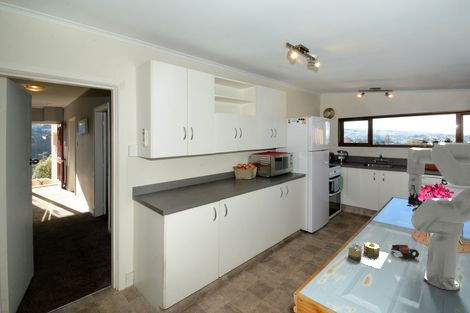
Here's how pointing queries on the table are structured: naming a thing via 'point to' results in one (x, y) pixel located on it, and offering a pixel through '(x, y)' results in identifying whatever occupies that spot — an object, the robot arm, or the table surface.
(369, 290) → the table surface
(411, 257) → the brown clawed ring bracket
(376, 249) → the planet gear
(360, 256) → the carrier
